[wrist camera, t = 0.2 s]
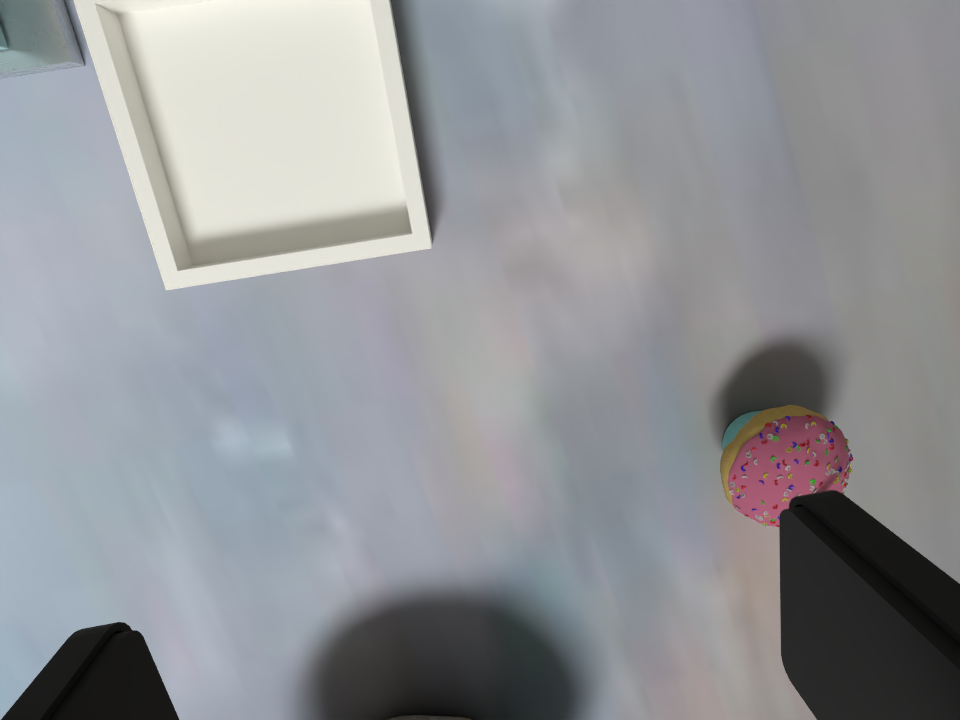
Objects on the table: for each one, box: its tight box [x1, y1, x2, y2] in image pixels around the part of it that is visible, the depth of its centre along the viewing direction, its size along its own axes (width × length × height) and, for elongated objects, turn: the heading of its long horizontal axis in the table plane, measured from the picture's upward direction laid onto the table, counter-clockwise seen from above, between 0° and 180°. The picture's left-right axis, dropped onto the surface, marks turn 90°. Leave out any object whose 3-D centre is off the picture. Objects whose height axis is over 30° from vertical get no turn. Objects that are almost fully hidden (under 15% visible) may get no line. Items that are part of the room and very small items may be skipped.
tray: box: [74, 0, 433, 290], centre depth 33 cm, size 16×16×3 cm
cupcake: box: [720, 405, 853, 527], centre depth 37 cm, size 9×8×12 cm
